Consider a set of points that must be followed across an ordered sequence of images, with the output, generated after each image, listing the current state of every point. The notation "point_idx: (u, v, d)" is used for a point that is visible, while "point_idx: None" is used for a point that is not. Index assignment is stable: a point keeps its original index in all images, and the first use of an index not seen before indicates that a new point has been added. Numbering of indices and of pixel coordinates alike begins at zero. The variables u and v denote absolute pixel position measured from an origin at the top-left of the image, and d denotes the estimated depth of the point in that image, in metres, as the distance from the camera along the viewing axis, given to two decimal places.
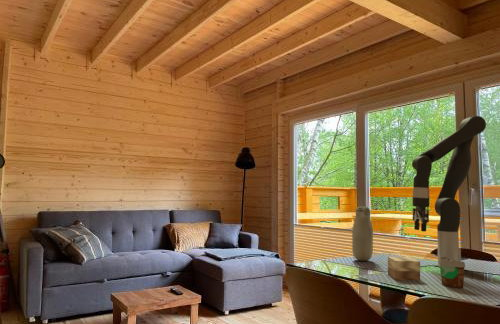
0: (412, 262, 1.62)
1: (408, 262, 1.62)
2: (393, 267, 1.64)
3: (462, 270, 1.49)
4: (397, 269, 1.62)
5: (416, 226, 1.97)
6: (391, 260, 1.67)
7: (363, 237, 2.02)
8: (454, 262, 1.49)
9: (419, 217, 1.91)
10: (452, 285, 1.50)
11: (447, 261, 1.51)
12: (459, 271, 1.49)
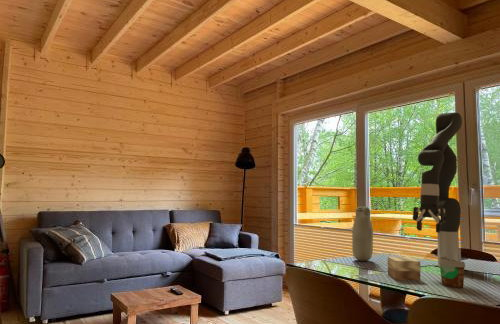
0: (412, 262, 1.62)
1: (408, 262, 1.62)
2: (393, 267, 1.64)
3: (462, 270, 1.49)
4: (397, 269, 1.62)
5: (420, 226, 1.79)
6: (391, 260, 1.67)
7: (363, 237, 2.02)
8: (454, 262, 1.49)
9: (434, 217, 1.73)
10: (452, 285, 1.50)
11: (447, 261, 1.51)
12: (459, 271, 1.49)
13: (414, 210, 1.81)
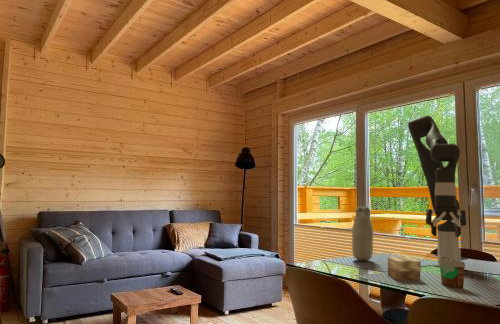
0: (413, 262, 1.62)
1: (409, 262, 1.62)
2: (394, 267, 1.64)
3: (462, 270, 1.49)
4: (398, 269, 1.61)
5: None
6: (391, 260, 1.66)
7: (363, 237, 2.02)
8: (454, 262, 1.49)
9: (456, 220, 1.54)
10: (452, 285, 1.50)
11: (447, 261, 1.51)
12: (459, 271, 1.49)
13: (430, 213, 1.55)
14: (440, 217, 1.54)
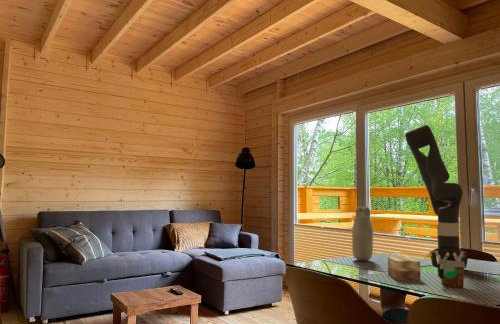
0: (412, 262, 1.61)
1: (408, 262, 1.61)
2: (393, 267, 1.64)
3: (462, 270, 1.49)
4: (397, 269, 1.61)
5: None
6: (391, 260, 1.66)
7: (363, 237, 2.02)
8: (454, 262, 1.49)
9: None
10: (452, 285, 1.50)
11: (447, 261, 1.51)
12: (459, 271, 1.49)
13: (434, 256, 1.53)
14: (445, 259, 1.52)
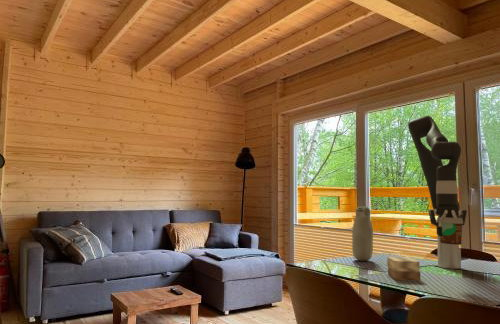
0: (411, 262, 1.61)
1: (407, 262, 1.61)
2: (392, 267, 1.64)
3: (460, 226, 1.50)
4: (396, 269, 1.62)
5: None
6: (390, 260, 1.67)
7: (363, 237, 2.02)
8: (452, 219, 1.51)
9: None
10: (450, 242, 1.51)
11: (445, 218, 1.52)
12: (457, 227, 1.50)
13: (432, 214, 1.54)
14: (443, 216, 1.54)
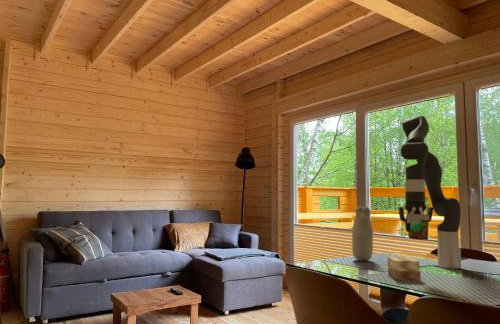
0: (411, 262, 1.61)
1: (407, 262, 1.61)
2: (392, 267, 1.64)
3: (427, 223, 1.59)
4: (396, 269, 1.62)
5: None
6: (390, 260, 1.67)
7: (363, 237, 2.02)
8: (419, 215, 1.60)
9: None
10: (417, 237, 1.60)
11: (413, 215, 1.61)
12: (424, 223, 1.59)
13: (401, 210, 1.63)
14: (411, 213, 1.63)
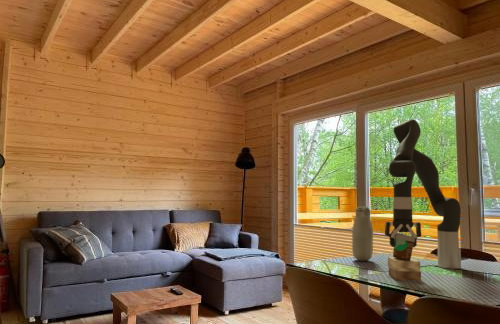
0: (412, 262, 1.61)
1: (408, 262, 1.61)
2: (393, 267, 1.63)
3: (411, 244, 1.62)
4: (397, 269, 1.61)
5: None
6: (391, 260, 1.66)
7: (363, 237, 2.02)
8: (405, 236, 1.63)
9: (412, 231, 1.66)
10: (400, 257, 1.63)
11: (400, 235, 1.64)
12: (409, 244, 1.62)
13: (388, 225, 1.67)
14: (397, 229, 1.66)
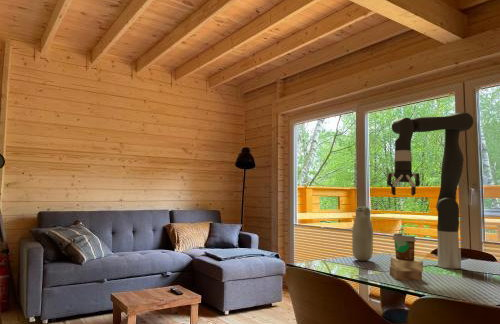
0: (415, 262, 1.61)
1: (411, 262, 1.62)
2: (396, 267, 1.64)
3: (413, 244, 1.62)
4: (400, 269, 1.62)
5: None
6: (394, 260, 1.67)
7: (363, 237, 2.02)
8: (405, 237, 1.63)
9: (411, 181, 1.85)
10: (404, 258, 1.63)
11: (399, 236, 1.64)
12: (410, 245, 1.62)
13: (390, 176, 1.86)
14: (398, 179, 1.85)
